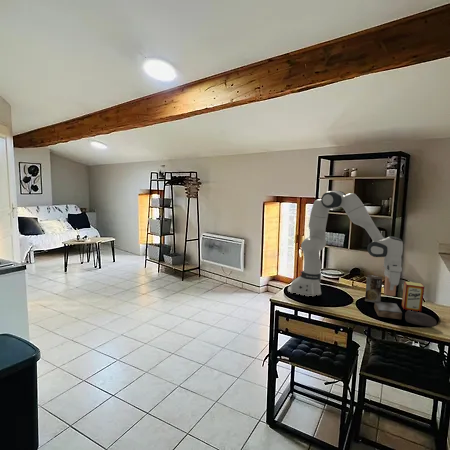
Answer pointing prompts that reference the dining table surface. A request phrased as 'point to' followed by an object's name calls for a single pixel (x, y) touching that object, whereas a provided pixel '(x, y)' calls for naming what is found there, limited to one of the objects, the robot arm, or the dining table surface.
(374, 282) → the coffee box
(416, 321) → the perforated stone tool
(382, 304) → the block
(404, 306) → the ginger box
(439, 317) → the dining table surface
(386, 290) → the terracotta block
